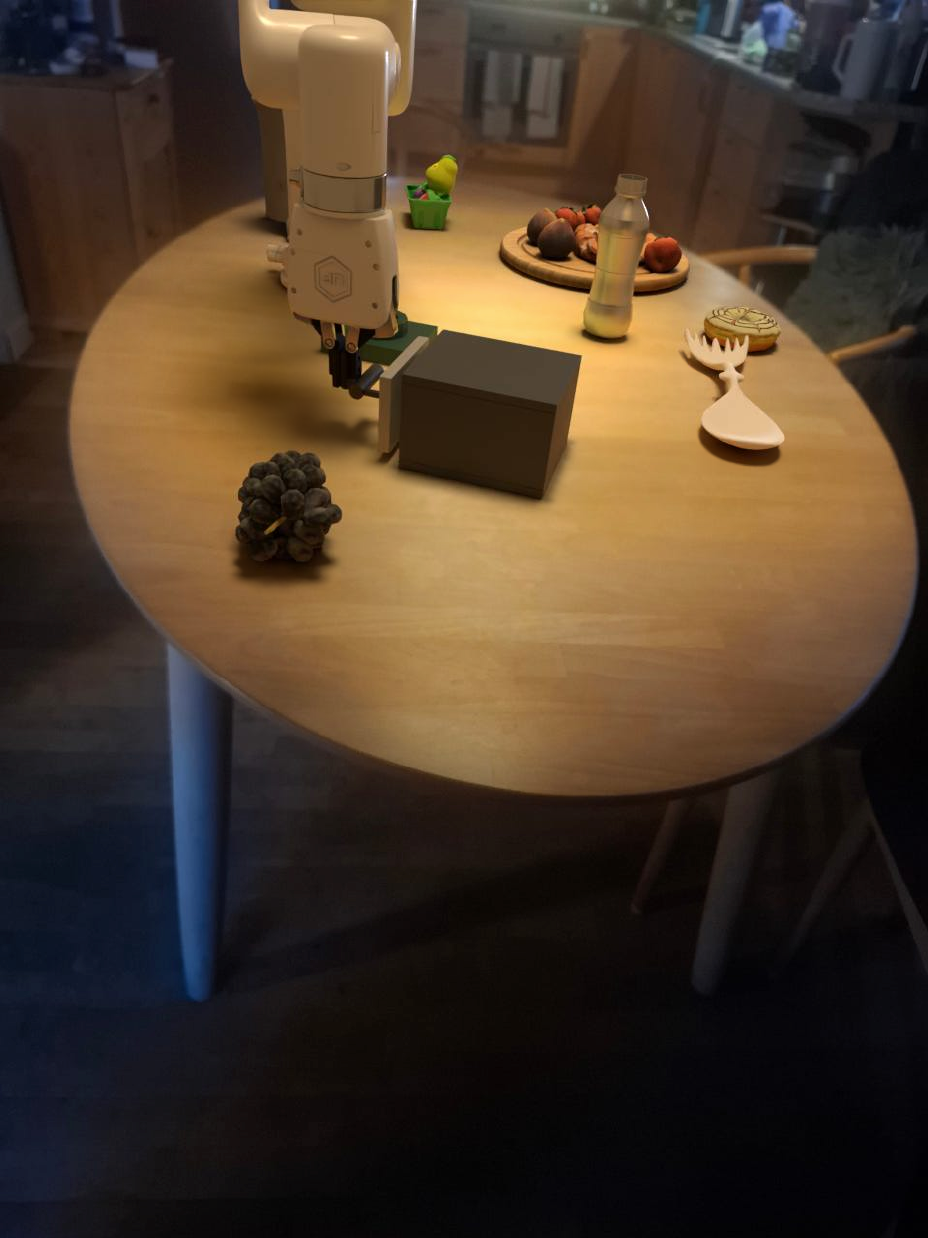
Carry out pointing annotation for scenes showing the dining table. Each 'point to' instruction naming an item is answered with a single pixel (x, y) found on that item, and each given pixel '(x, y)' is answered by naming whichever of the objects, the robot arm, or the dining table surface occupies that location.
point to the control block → (393, 341)
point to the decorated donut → (742, 327)
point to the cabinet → (487, 411)
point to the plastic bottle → (617, 259)
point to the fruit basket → (433, 195)
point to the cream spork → (733, 400)
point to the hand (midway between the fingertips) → (345, 383)
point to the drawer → (388, 392)
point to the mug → (274, 163)
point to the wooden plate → (585, 251)
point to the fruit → (285, 507)
